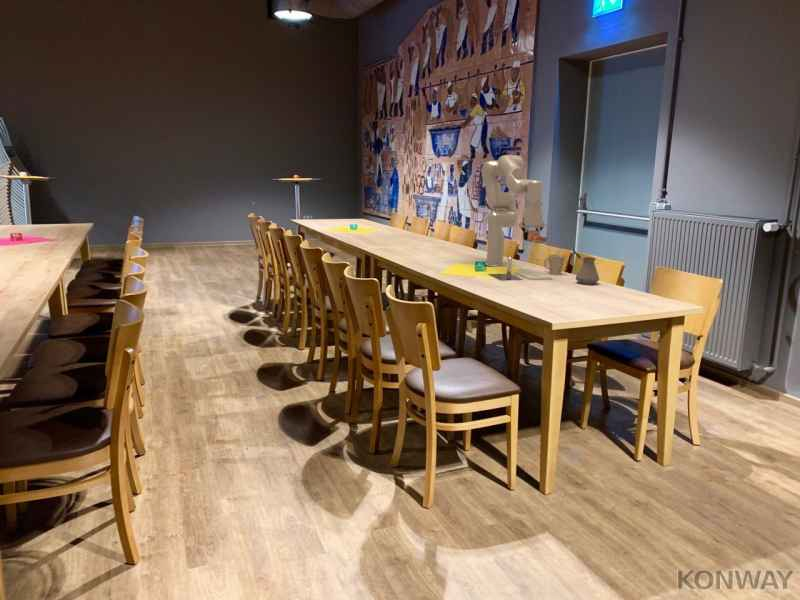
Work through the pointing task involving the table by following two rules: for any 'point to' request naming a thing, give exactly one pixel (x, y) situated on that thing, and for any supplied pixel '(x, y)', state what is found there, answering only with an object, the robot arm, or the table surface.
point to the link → (535, 237)
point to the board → (532, 275)
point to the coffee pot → (587, 271)
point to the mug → (555, 264)
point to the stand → (506, 276)
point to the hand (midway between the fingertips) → (531, 239)
